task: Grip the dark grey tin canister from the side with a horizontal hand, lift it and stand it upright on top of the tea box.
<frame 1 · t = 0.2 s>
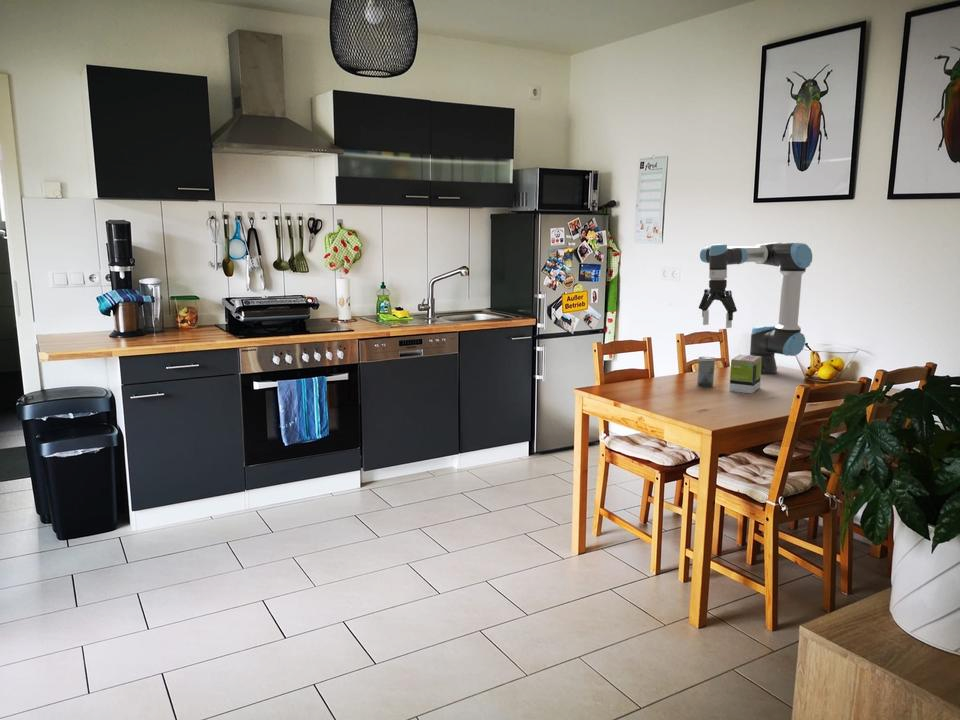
hand: (717, 326, 325), 27 cm above the table, tool pointing down, fingers open, 13 cm apart
tea box: (744, 390, 322), on the table
tin canister: (705, 385, 329), on the table
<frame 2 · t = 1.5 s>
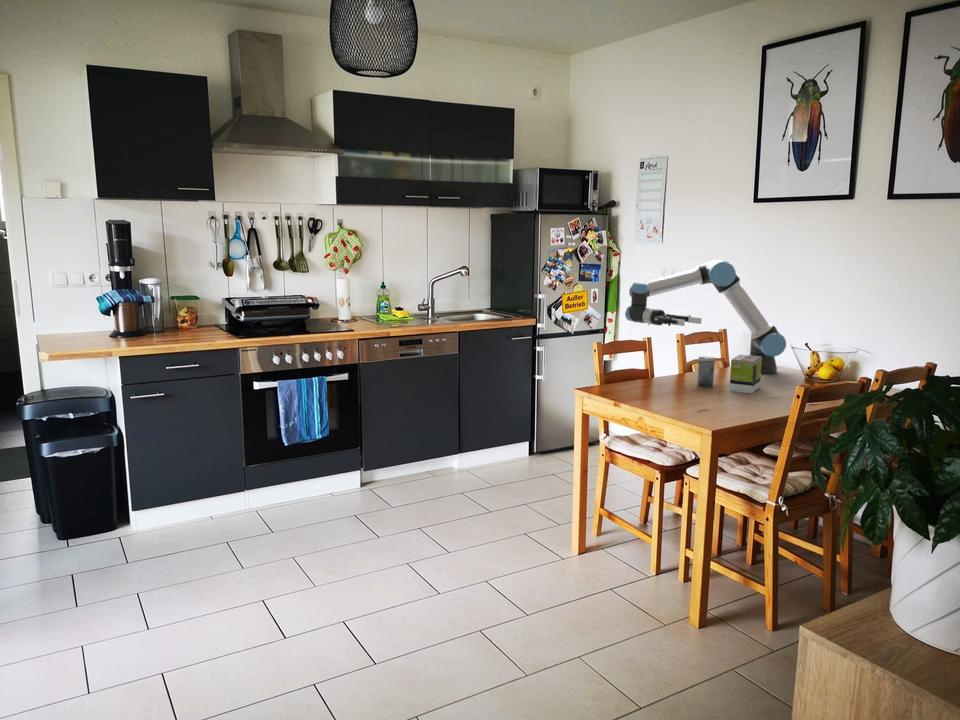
hand: (692, 322, 331), 28 cm above the table, tool horizontal, fingers open, 13 cm apart
nothing on the table moved.
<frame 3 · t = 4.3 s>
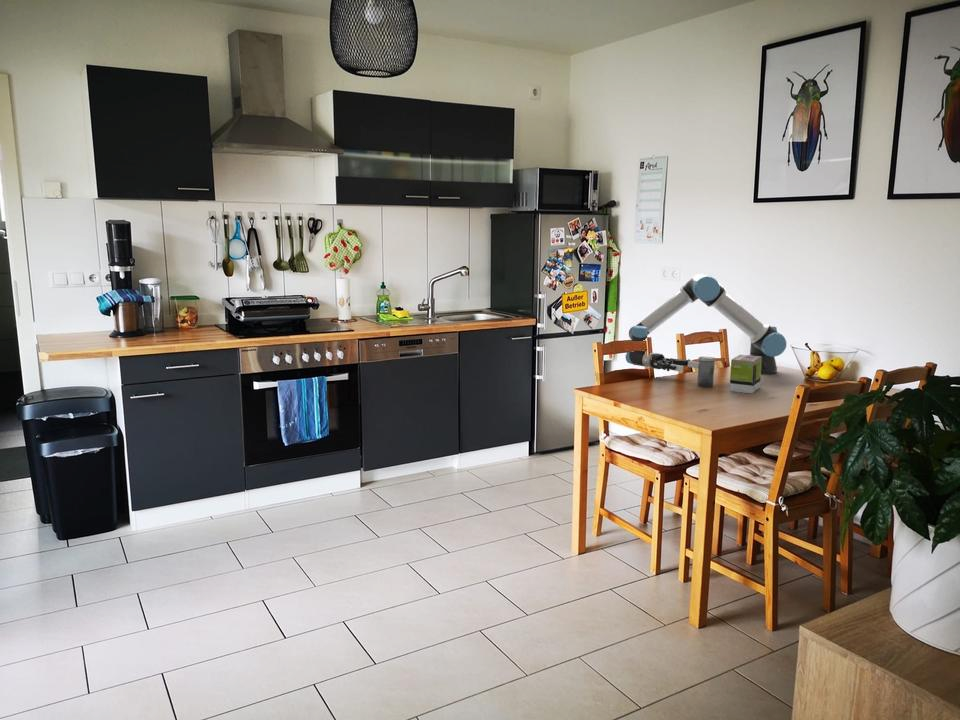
hand: (691, 367, 334), 7 cm above the table, tool horizontal, fingers open, 13 cm apart
nothing on the table moved.
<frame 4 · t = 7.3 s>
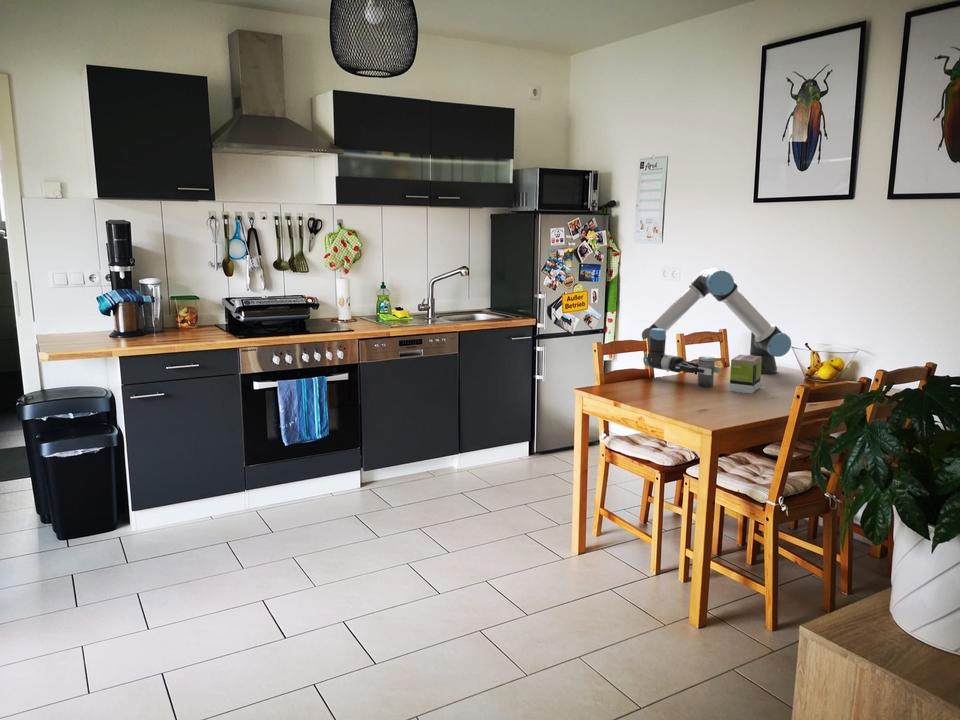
hand: (715, 371, 324), 8 cm above the table, tool horizontal, fingers closed on tin canister, 7 cm apart
tin canister: (705, 385, 329), on the table, touching gripper
everything else where it was.
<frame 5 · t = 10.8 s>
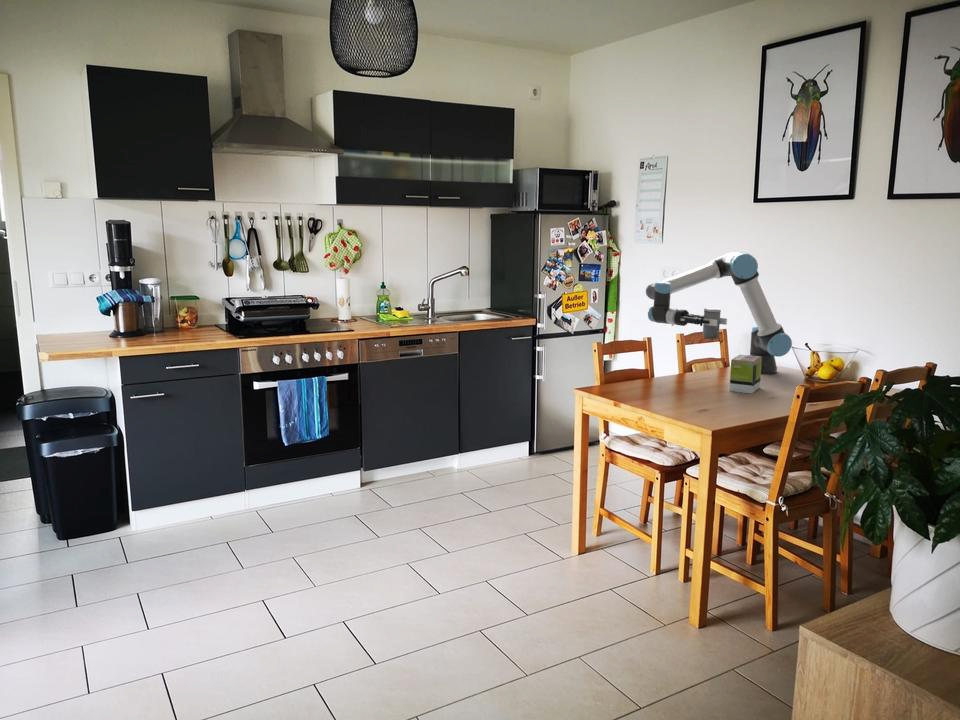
hand: (721, 322, 320), 30 cm above the table, tool horizontal, fingers closed on tin canister, 7 cm apart
tin canister: (710, 337, 325), point 22 cm above the table, touching gripper
everything else where it was.
when the fingers open (24 cm above the table, at t = 14.4 s): tin canister drops 2 cm, resting on tea box.
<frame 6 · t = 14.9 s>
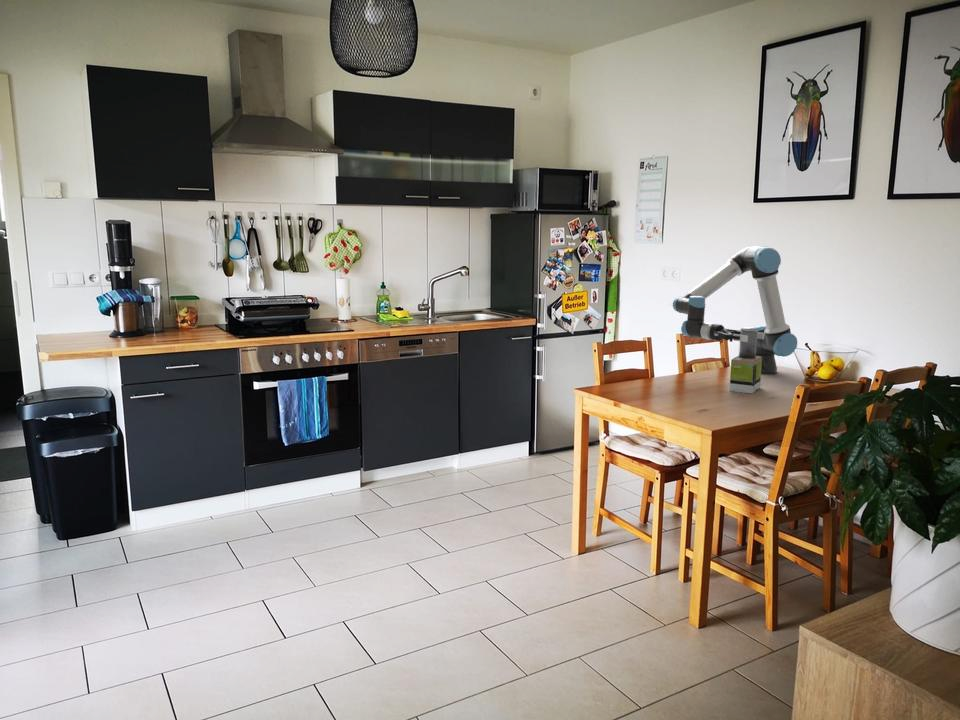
hand: (755, 337, 315), 24 cm above the table, tool horizontal, fingers open, 13 cm apart
tea box: (744, 390, 322), on the table, touching tin canister
tin canister: (747, 357, 320), point 15 cm above the table, touching tea box
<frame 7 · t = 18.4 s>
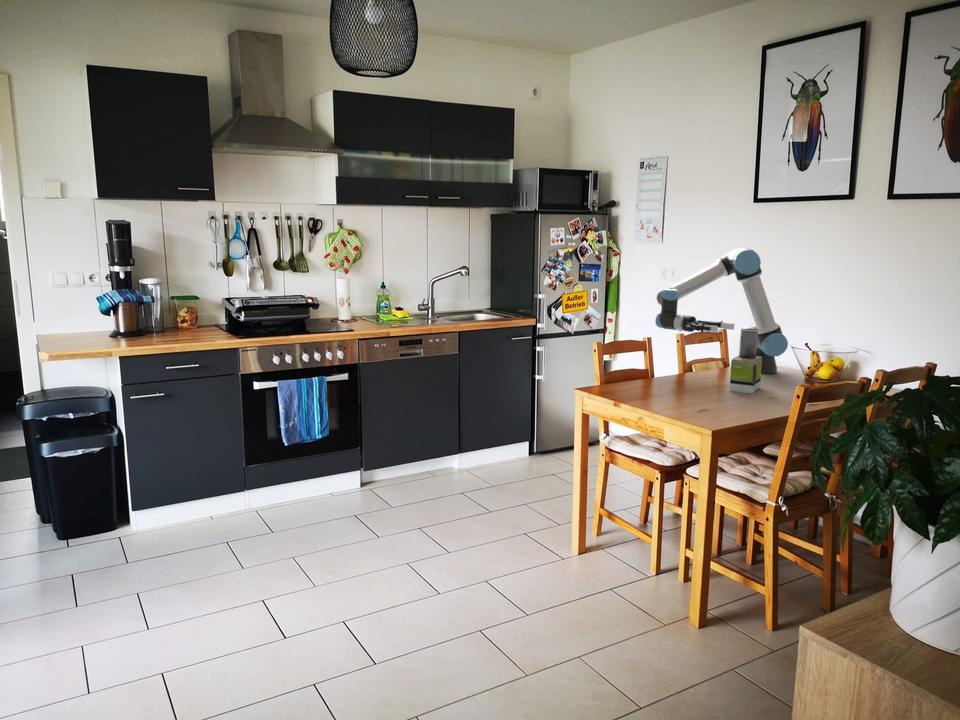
hand: (725, 328, 328), 26 cm above the table, tool horizontal, fingers open, 13 cm apart
nothing on the table moved.
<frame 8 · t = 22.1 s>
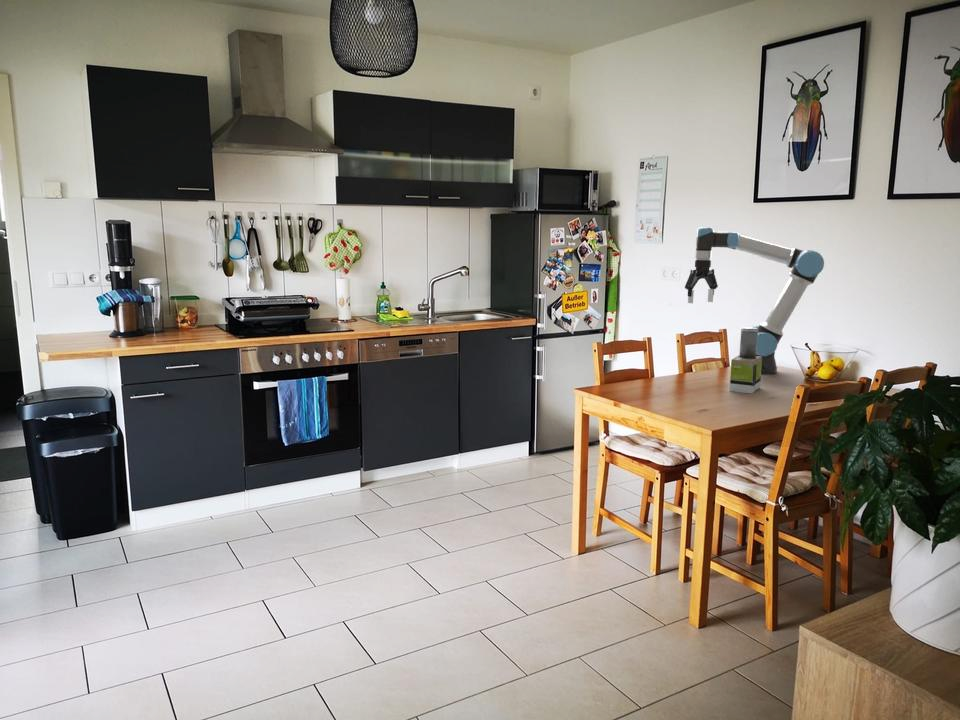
hand: (700, 302, 357), 35 cm above the table, tool pointing down, fingers open, 13 cm apart
nothing on the table moved.
at the end: tin canister inside the target area on the tea box (0.1 cm from its centre), point 15.0 cm above the tea box's base; tin canister tilted 0°; tin canister touching tea box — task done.
